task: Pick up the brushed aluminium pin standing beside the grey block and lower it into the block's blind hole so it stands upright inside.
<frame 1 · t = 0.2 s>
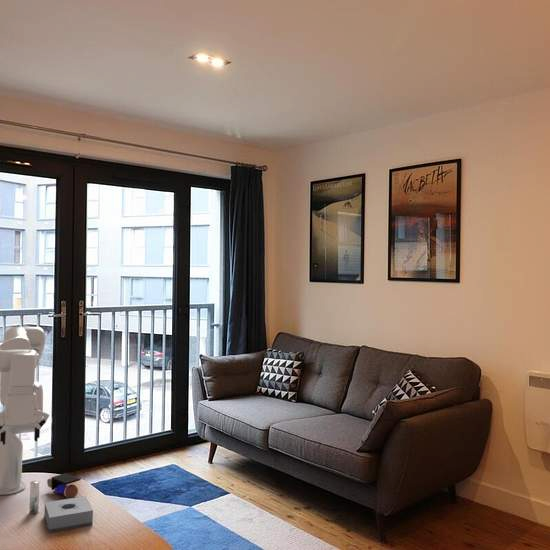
hand: (19, 441, 181), 31 cm above the table, tool pointing down, fingers open, 9 cm apart
figurine character: (63, 494, 216), on the table
bore block: (68, 520, 192), on the table
aluminium pin: (33, 512, 198), on the table
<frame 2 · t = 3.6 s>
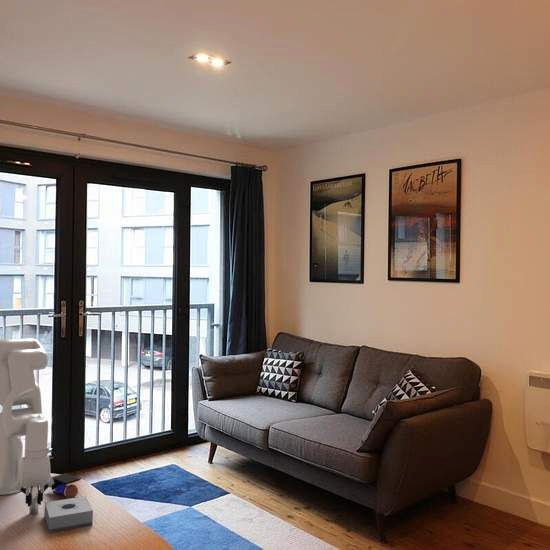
hand: (34, 503, 198), 3 cm above the table, tool pointing down, fingers closed on aluminium pin, 3 cm apart
aluminium pin: (33, 512, 198), on the table, touching gripper
everything else where it was.
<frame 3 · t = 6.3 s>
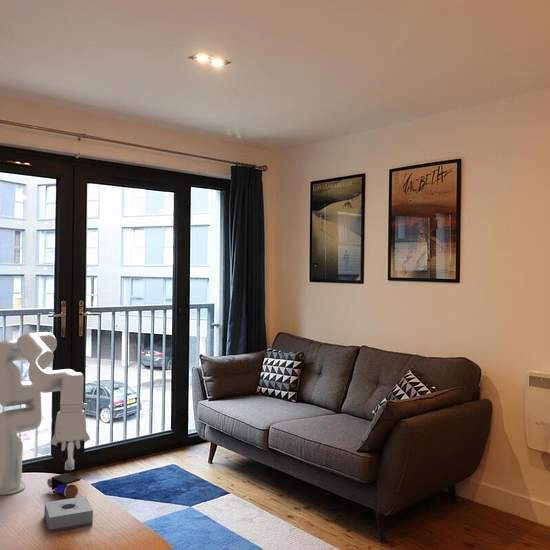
hand: (69, 459, 193), 21 cm above the table, tool pointing down, fingers closed on aluminium pin, 3 cm apart
aluminium pin: (69, 468, 192), point 18 cm above the table, touching gripper
everything else where it was.
when the fingers open (6 cm above the table, at t = 9.1 s): aluminium pin drops 1 cm, resting on bore block.
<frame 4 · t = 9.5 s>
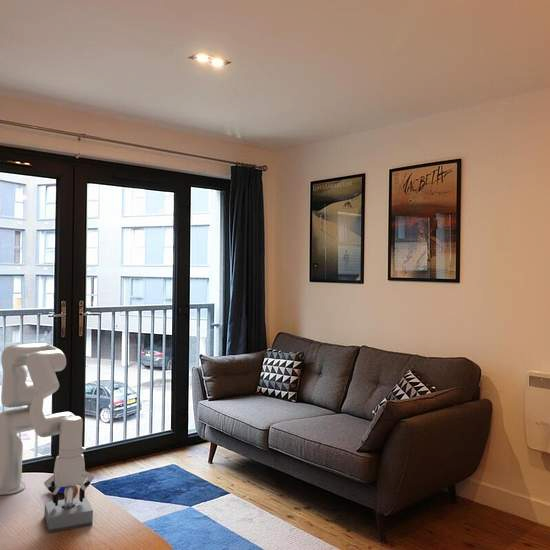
hand: (68, 502, 192), 6 cm above the table, tool pointing down, fingers open, 7 cm apart
aluminium pin: (67, 517, 192), point 1 cm above the table, touching bore block
everything else where it was.
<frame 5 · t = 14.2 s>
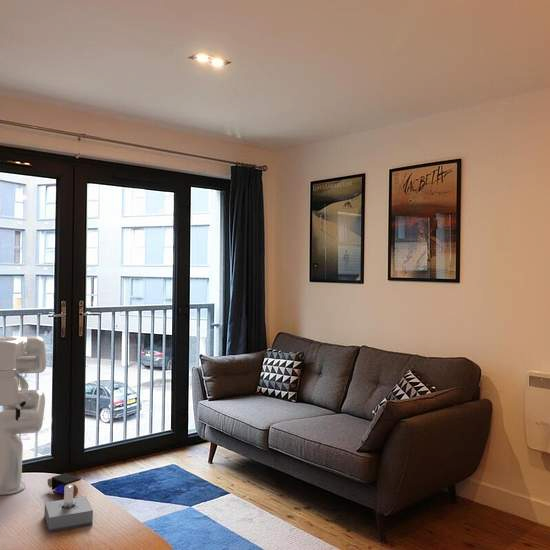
hand: (2, 420, 200), 32 cm above the table, tool pointing down, fingers open, 9 cm apart
nothing on the table moved.
at the end: aluminium pin 0.1 cm from the bore block (horizontally); aluminium pin point 1.0 cm above the table; aluminium pin tilted 0° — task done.
